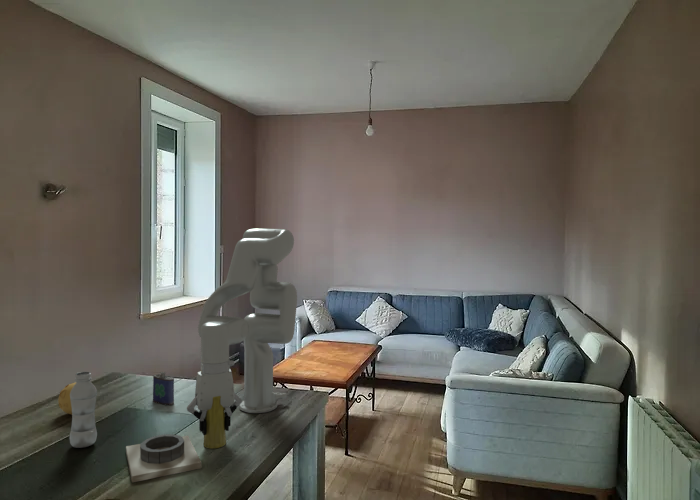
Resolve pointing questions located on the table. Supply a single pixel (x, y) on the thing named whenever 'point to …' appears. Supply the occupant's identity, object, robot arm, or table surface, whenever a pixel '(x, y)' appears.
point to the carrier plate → (161, 457)
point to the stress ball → (66, 399)
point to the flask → (163, 389)
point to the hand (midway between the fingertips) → (215, 430)
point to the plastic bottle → (83, 411)
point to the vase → (215, 425)
